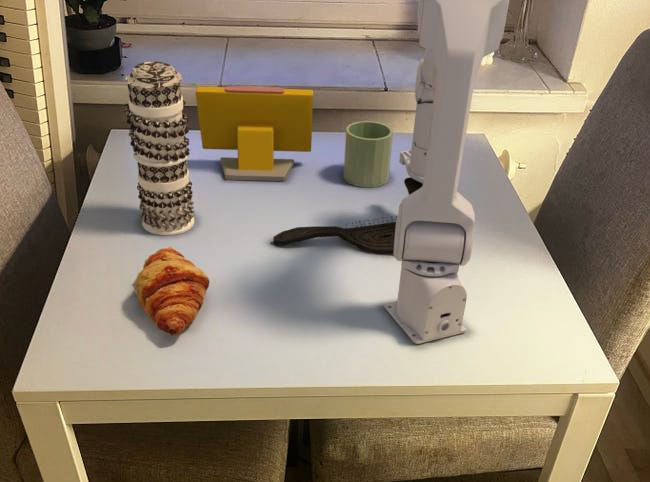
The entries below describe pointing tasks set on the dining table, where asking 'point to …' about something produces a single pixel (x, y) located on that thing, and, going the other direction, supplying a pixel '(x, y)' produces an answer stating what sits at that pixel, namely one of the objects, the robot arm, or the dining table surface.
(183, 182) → the decorative candle
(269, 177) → the yellow framed monitor
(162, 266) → the croissant
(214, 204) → the dining table surface
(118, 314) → the dining table surface
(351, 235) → the hairbrush
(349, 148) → the coffee cup
